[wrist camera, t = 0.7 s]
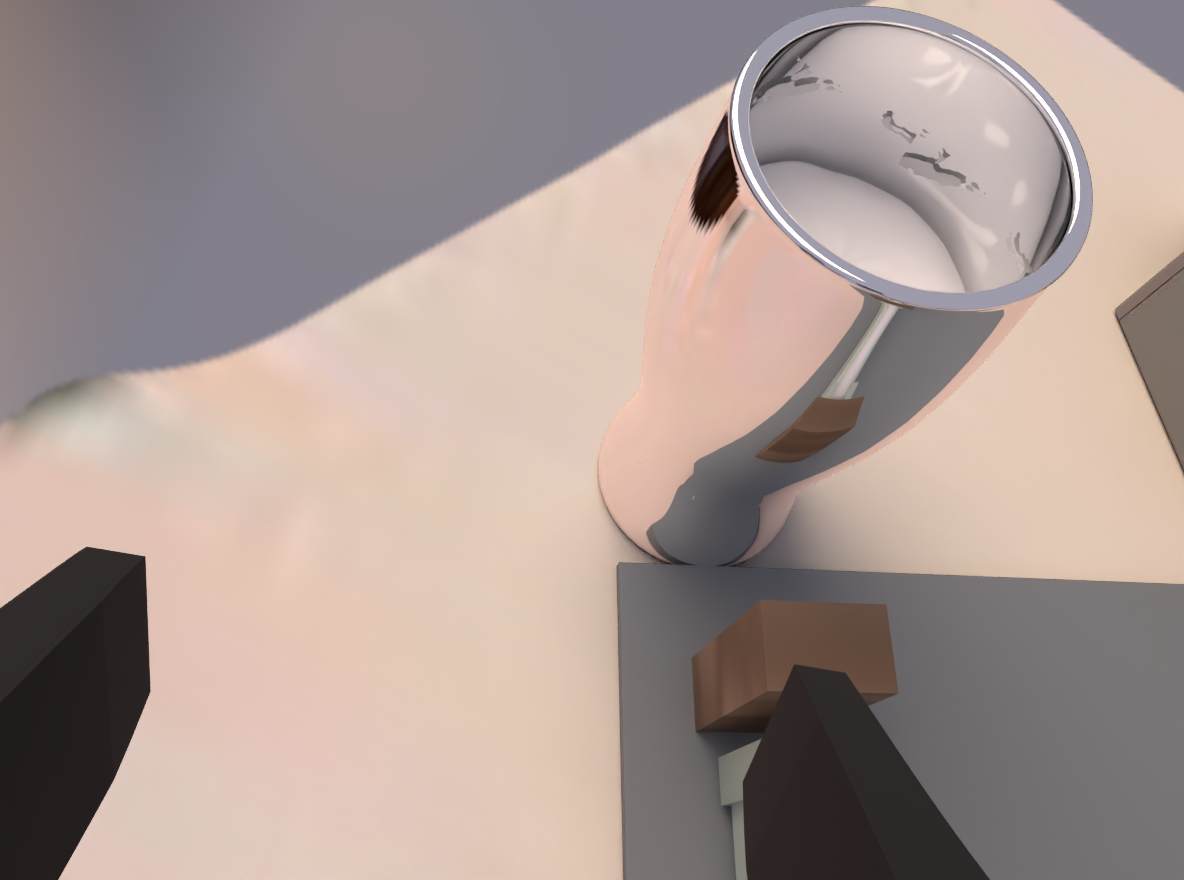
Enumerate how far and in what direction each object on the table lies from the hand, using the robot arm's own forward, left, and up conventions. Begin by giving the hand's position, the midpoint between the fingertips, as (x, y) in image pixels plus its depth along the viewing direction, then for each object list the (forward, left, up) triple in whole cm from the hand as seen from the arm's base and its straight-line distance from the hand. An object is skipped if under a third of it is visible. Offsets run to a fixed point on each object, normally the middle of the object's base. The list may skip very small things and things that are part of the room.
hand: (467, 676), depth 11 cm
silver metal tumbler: (+9, -7, -16) cm, 20 cm away
